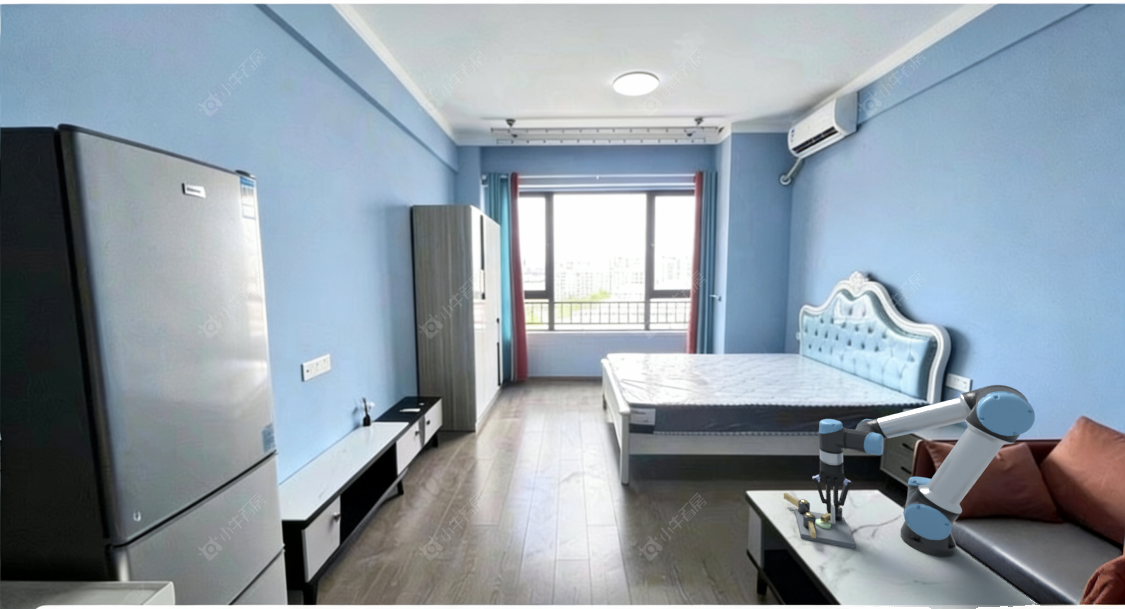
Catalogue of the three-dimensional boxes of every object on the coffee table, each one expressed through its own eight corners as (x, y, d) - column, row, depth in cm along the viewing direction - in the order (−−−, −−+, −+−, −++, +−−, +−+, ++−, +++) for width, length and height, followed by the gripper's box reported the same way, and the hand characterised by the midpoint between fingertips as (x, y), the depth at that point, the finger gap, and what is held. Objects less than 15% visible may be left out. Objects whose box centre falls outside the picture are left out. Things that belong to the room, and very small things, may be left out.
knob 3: (833, 513, 167) (833, 502, 166) (844, 518, 163) (844, 506, 163) (817, 522, 161) (817, 510, 161) (827, 527, 158) (828, 515, 157)
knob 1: (812, 514, 167) (812, 502, 167) (804, 515, 166) (804, 504, 166) (788, 499, 178) (788, 488, 178) (781, 501, 177) (781, 490, 177)
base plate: (843, 521, 165) (844, 514, 165) (855, 548, 148) (855, 540, 148) (794, 512, 171) (794, 505, 171) (800, 537, 155) (800, 530, 155)
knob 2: (802, 522, 162) (802, 510, 161) (814, 524, 160) (814, 512, 160) (806, 539, 151) (807, 526, 151) (819, 542, 149) (820, 529, 149)
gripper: (849, 459, 159) (850, 519, 160) (810, 455, 164) (811, 513, 165) (853, 467, 152) (855, 530, 153) (813, 463, 157) (814, 524, 158)
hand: (832, 521), depth 159 cm, fingers closed
